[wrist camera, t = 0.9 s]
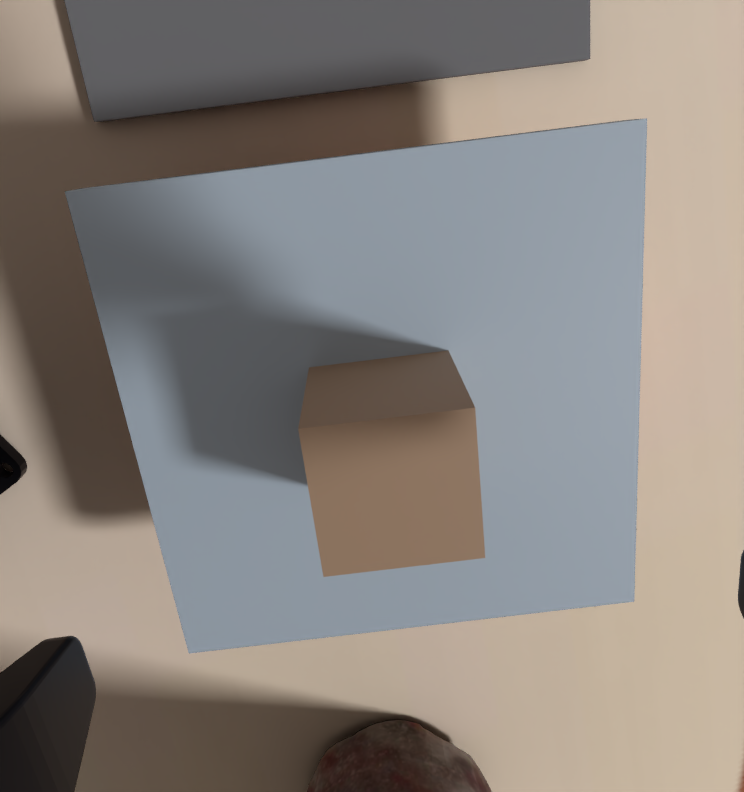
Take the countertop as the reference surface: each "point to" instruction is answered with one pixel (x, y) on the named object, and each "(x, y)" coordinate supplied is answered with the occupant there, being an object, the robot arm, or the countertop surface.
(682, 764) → the countertop surface
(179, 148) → the countertop surface
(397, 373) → the lid
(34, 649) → the robot arm
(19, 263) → the countertop surface
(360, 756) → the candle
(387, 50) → the mat
